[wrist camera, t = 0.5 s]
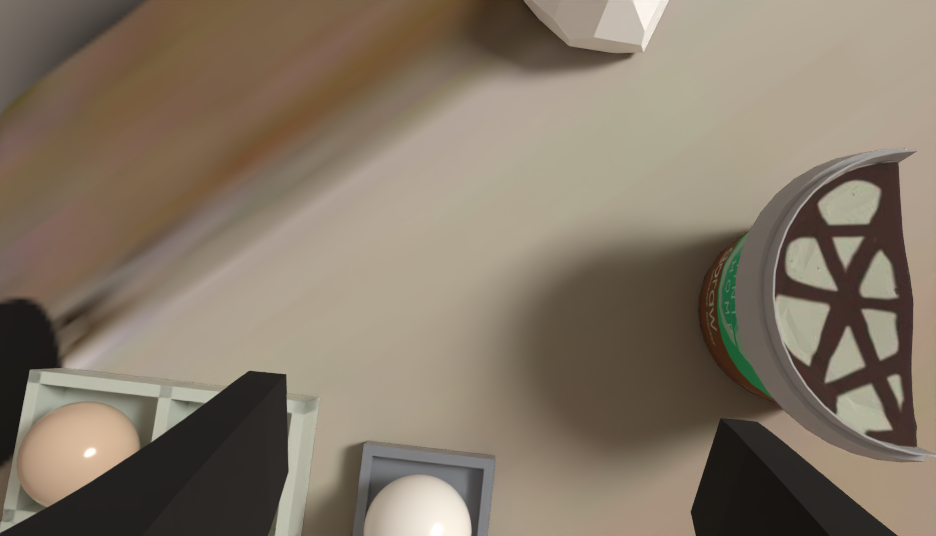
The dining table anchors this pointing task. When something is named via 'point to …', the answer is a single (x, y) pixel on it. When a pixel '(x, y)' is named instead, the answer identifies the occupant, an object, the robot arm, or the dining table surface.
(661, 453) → the dining table surface
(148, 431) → the egg tray
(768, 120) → the dining table surface
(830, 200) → the food container
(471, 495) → the dish
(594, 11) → the white trapezoid ingot
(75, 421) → the brown egg
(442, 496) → the white egg
